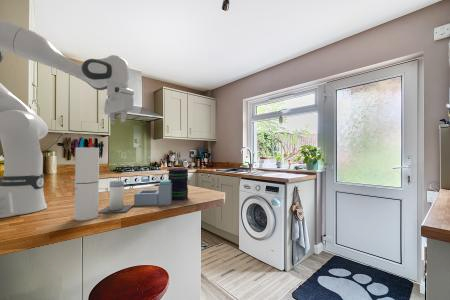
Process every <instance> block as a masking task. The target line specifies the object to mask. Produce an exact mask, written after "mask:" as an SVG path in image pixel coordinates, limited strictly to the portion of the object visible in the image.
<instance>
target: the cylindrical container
mask: <svg viewBox="0 0 450 300" xmlns="http://www.w3.org/2000/svg"><path fill="white" fill-rule="evenodd" d="M74 158H75V159H74V163H75V164H74V166H75V167H74V168H75V169H74V218H73V219H74V221H89V220H93V219H96V218H97V217H99V214H98V212H99V195H100V192H99V189H100V188H99V186H100V181H99V180H100V147H85V146H82V147H75V157H74Z"/></svg>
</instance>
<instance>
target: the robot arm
mask: <svg viewBox="0 0 450 300" xmlns="http://www.w3.org/2000/svg"><path fill="white" fill-rule="evenodd" d="M3 51H4V52H7V53H10V54H13V55H16V56H18V57H21V58H24V59H26V60H29V61H32V62H35V63H39V64H41V65H44V66H47V67H49V68H53V69H56V70H59V71H60V72H63V73H66V74H68V75H70V76H73V77H76V78H77V79H80V80H82V81H84V82H86V83H87V84H88V85H89V86H90V87H91V88H92V89H94V90H96V91H97V90H98V91H104V90H106V96H107V98H106V99H105V101H104V109H103V110H104V111H103V112H104V114H105V115H108V117H109V122H110V125H111V124H112V125H115V124H117V123H116V119H115V116H116V115H118V114H121V116H120V117H119V122H120V123H125V122H126V120H127V116H128V112H131V111H133V108H134V95H135V90H133V89H130V87H129V83H128V82H129V77H130V75H129V74H130V72H129V66H128V62H127V60H125V59H124V58H122V57H121V56H119V55H115V54H113V55H109V56H107V57H103V58H88V59H85V60H84V61H83V62H82V64H81V63H78V62H76V61H74V60H72V59H70V58H68V57H67V56H65V55H64V54H63V53H61V52H60V51H59V50H58V49H57V48H56V47H55V46H54V45H53V44H52V43H51V42H50V41H49V40H48V39H47V38H45V37H43V36H42V35H40V34H38V33H37V32H35V31H32V30H30V29H28V28H26V27H23V26H20V25H18V24H16V23H12V22H11V21H6V20H4V19H0V64H1V63H2V61H3V59H4V55H3ZM48 133H49V127H48V124H47V123H46V122H45V120H43V119H42V118H41V117H40V116H39V115H38V114H37V113H36V112H34V110H32V109H31V108H30V107H28V106H27V105H26V104H25V103H24V102H22V101H21V100H20V99H19V98H18V97H17V96H15V95H14V94H13V93H12V92H11V91H10V90H9V89H7V87H6V86H5V85H3V84H2V83H1V82H0V143H1V147H2V151H3V175H2V176H1V177H0V218H8V217H14V216H18V215H19V216H20V215H25V214H32V213H35V212H39V211H44V210H46V209H47V208H48V205H47V203H46V199H45V193H44V185H45V174H44V173H43V169H44V168H43V167H44V155H43V152H42V150H41V144H40V140H42V139H44V138H45V137H46V136H47V135H48Z"/></svg>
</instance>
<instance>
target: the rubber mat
mask: <svg viewBox="0 0 450 300" xmlns="http://www.w3.org/2000/svg"><path fill="white" fill-rule="evenodd" d="M133 207H134V204H127V205H125V204H123V209H119V210H110V205H107V206H106V207H104V208H103V209H101V210H100V211H99V210H98V215H100V214H103V215H104V214H126V213H128V211H130V210H131V209H132V208H133Z"/></svg>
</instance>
